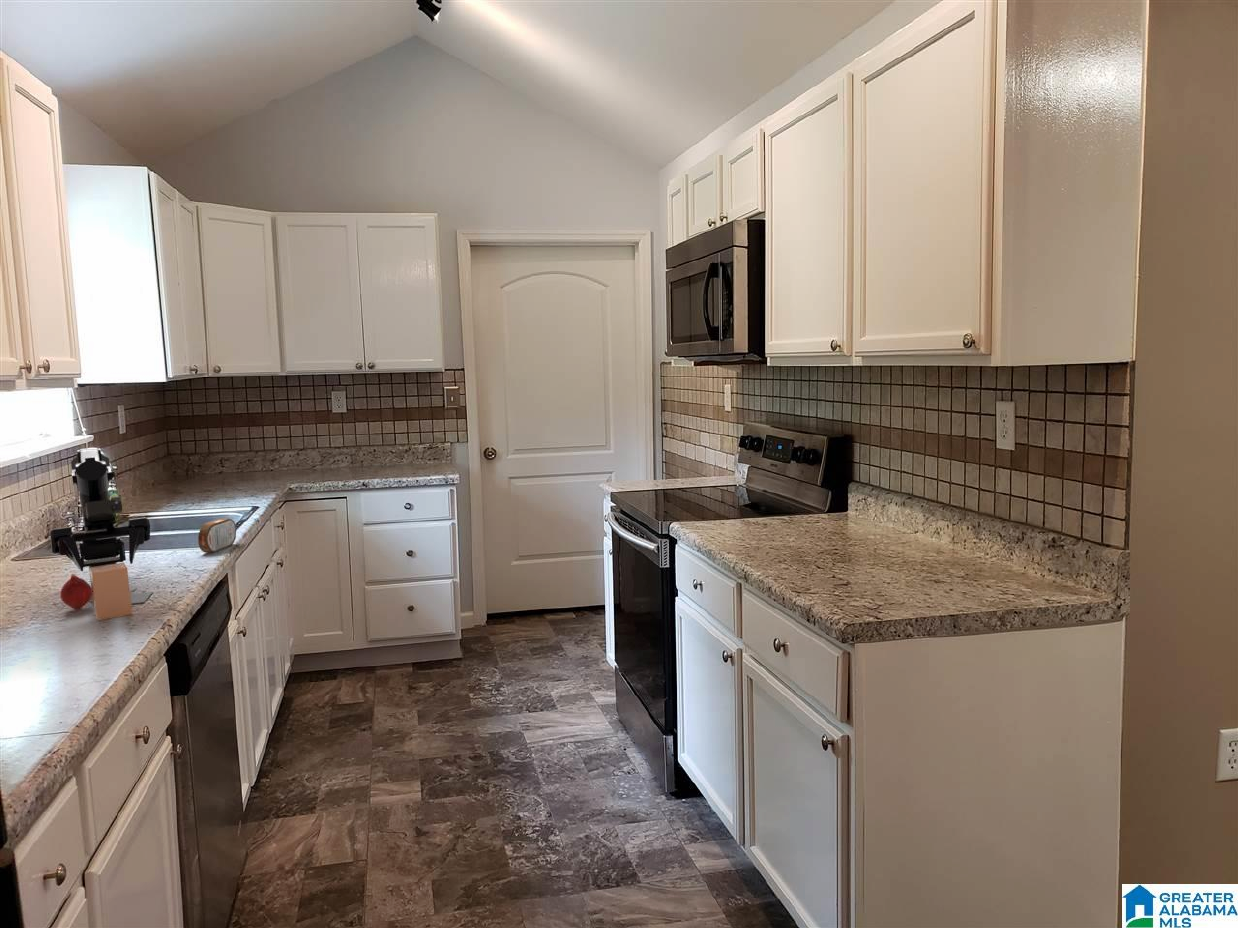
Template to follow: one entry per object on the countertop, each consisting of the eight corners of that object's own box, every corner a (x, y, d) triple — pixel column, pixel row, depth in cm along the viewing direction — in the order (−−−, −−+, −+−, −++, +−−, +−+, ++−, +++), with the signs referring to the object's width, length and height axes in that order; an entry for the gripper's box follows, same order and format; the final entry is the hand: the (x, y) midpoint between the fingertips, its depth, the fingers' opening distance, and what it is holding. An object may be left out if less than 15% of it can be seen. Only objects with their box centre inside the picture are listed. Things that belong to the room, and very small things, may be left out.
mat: (109, 597, 205) (109, 596, 205) (152, 593, 207) (152, 591, 207) (98, 608, 196) (98, 606, 196) (144, 603, 198) (143, 601, 198)
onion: (99, 605, 198) (94, 569, 197) (84, 612, 193) (80, 576, 192) (72, 606, 198) (67, 571, 197) (57, 614, 193) (52, 577, 191)
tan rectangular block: (95, 613, 192) (89, 567, 191) (129, 607, 195) (123, 562, 194) (97, 620, 187) (92, 573, 185) (132, 613, 190) (127, 567, 189)
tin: (229, 543, 260) (226, 515, 259) (239, 543, 260) (236, 514, 259) (198, 555, 246) (195, 525, 244) (209, 555, 245) (206, 525, 244)
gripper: (44, 491, 189) (53, 551, 182) (144, 481, 200) (156, 537, 192) (48, 523, 197) (56, 582, 189) (143, 511, 207) (155, 567, 199)
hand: (107, 566), depth 192 cm, fingers open, 9 cm apart
